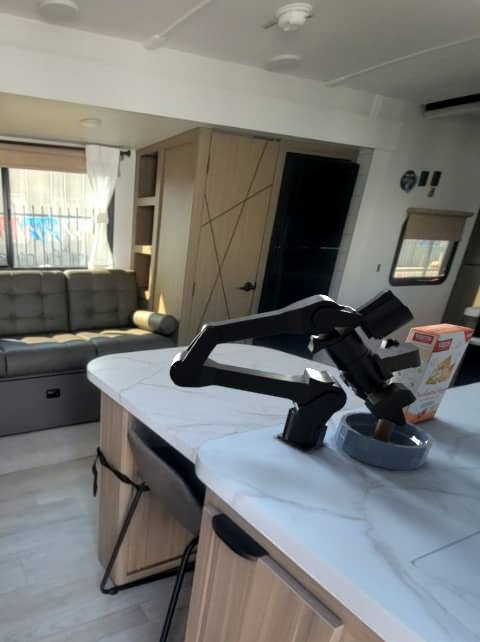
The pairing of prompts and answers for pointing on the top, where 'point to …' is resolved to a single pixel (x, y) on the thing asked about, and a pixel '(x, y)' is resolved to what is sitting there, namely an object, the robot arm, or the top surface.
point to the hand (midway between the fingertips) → (397, 419)
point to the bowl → (400, 455)
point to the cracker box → (432, 367)
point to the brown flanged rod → (383, 431)
